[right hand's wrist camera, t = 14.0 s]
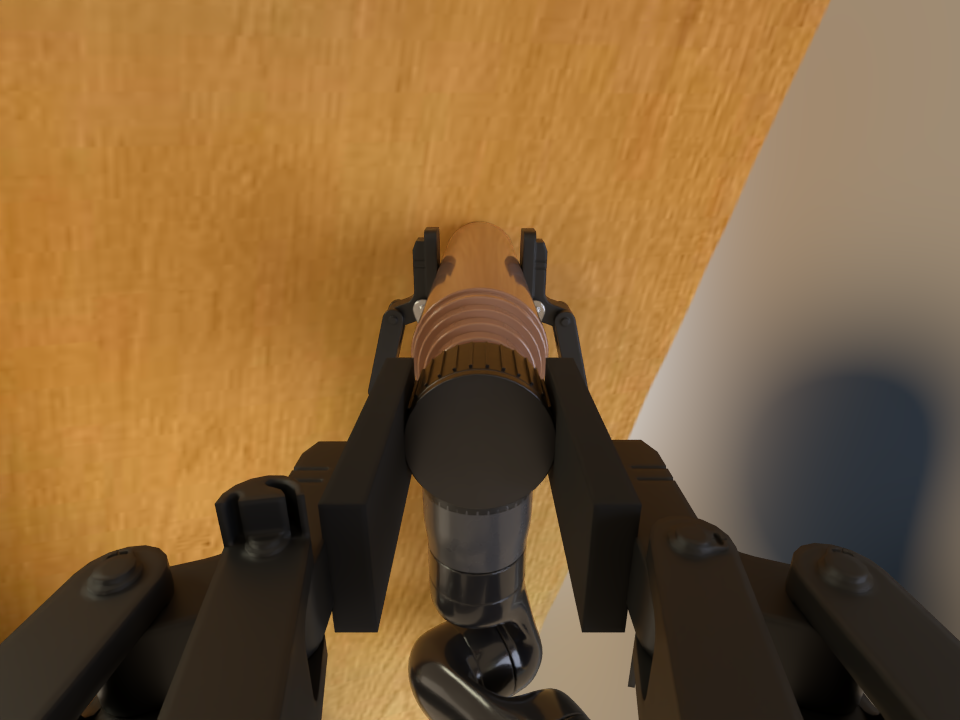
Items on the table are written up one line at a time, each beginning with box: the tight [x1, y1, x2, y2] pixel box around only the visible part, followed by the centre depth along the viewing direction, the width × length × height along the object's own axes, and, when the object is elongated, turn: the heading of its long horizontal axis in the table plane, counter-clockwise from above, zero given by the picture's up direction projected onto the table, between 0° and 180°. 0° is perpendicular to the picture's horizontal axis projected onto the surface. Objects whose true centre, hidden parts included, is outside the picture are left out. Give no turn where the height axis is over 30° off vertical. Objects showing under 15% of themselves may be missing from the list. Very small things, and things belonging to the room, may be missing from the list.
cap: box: [404, 341, 556, 509], centre depth 14 cm, size 4×4×2 cm
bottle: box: [411, 222, 549, 381], centre depth 25 cm, size 5×5×25 cm
